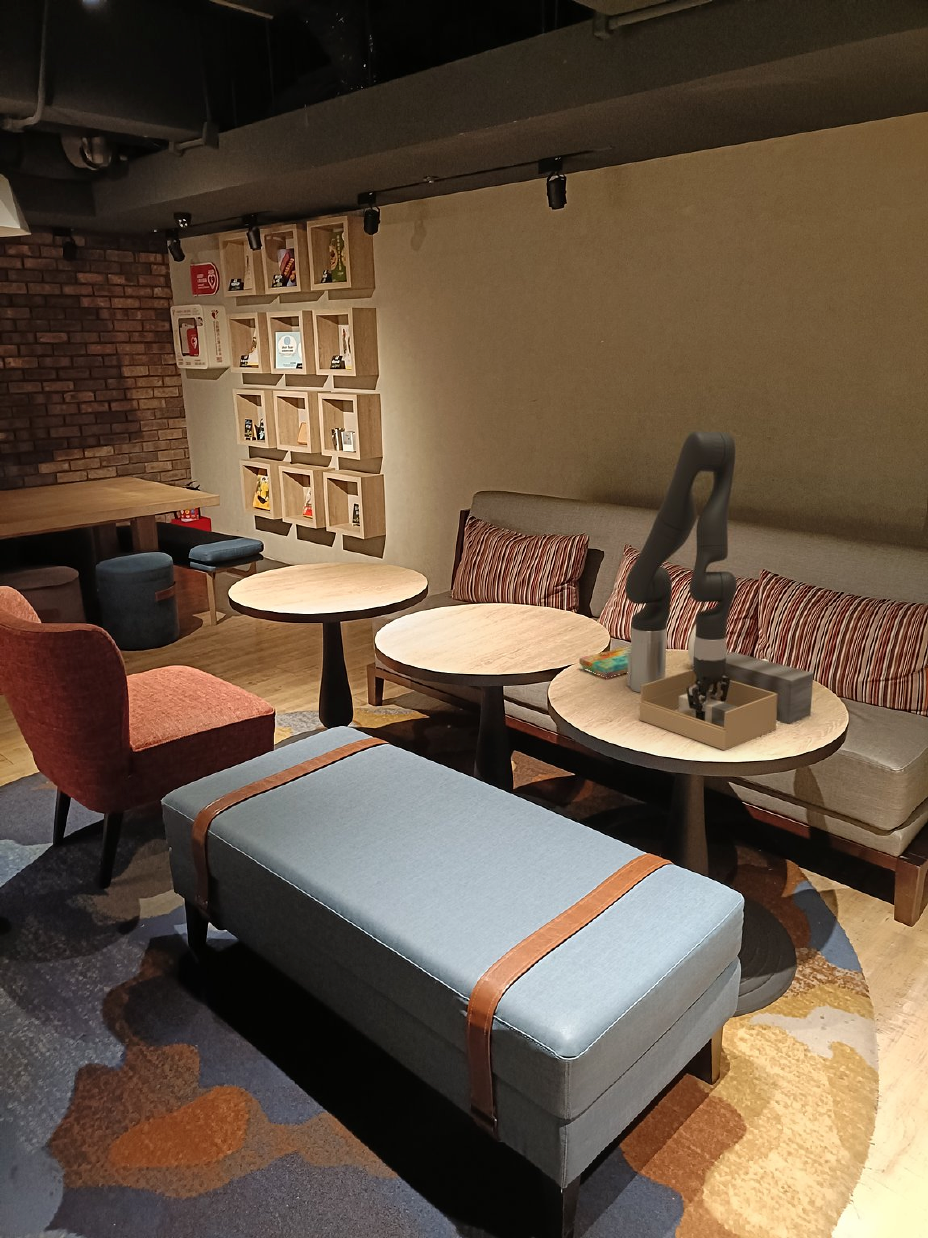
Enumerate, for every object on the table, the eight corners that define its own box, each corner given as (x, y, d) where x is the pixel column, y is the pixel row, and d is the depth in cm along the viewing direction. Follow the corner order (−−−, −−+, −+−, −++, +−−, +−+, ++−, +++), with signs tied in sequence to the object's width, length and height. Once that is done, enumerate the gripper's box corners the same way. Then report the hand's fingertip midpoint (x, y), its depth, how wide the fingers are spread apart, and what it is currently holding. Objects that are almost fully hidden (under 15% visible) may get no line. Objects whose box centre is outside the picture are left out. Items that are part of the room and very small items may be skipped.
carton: (639, 720, 227) (640, 685, 225) (691, 702, 239) (692, 669, 236) (723, 750, 208) (725, 713, 206) (775, 729, 219) (778, 693, 217)
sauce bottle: (683, 671, 264) (685, 610, 259) (693, 663, 270) (695, 604, 266) (709, 675, 260) (712, 613, 255) (719, 667, 266) (722, 607, 261)
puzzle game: (579, 655, 266) (630, 643, 276) (579, 671, 267) (630, 658, 278) (606, 665, 256) (658, 652, 267) (606, 681, 258) (658, 668, 268)
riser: (708, 698, 241) (709, 658, 238) (729, 691, 246) (731, 651, 243) (788, 724, 222) (791, 680, 220) (810, 715, 228) (813, 673, 225)
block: (678, 719, 227) (678, 696, 226) (690, 715, 230) (690, 692, 229) (724, 735, 217) (726, 711, 215) (736, 730, 219) (738, 707, 218)
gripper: (716, 645, 226) (713, 711, 230) (677, 656, 218) (675, 724, 222) (741, 651, 220) (738, 719, 224) (703, 664, 212) (700, 733, 216)
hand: (707, 721), depth 223 cm, fingers closed on block, 4 cm apart
